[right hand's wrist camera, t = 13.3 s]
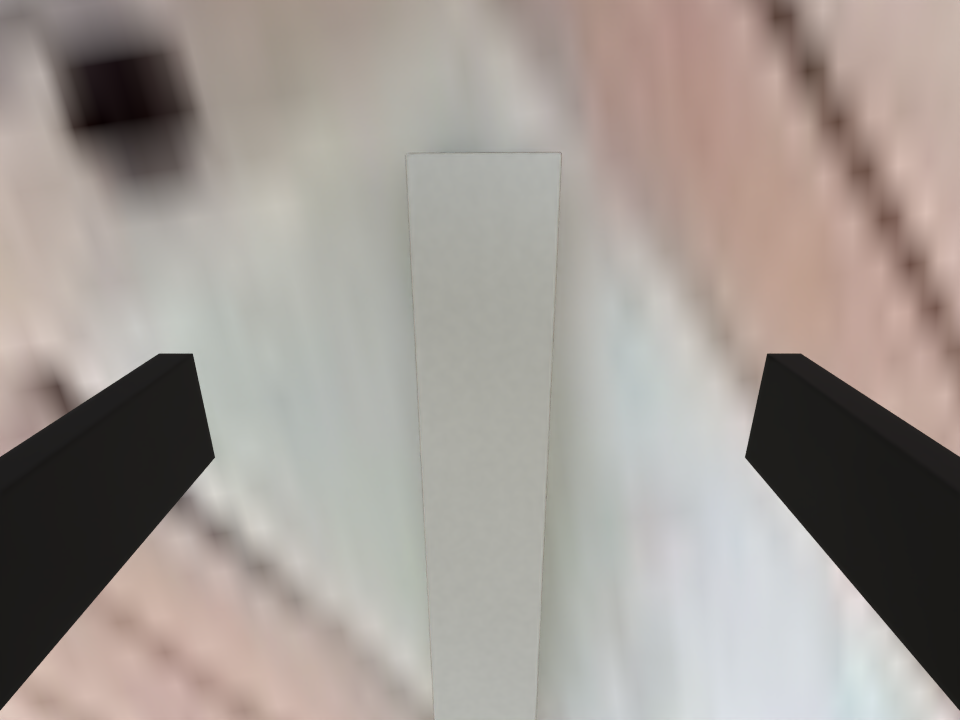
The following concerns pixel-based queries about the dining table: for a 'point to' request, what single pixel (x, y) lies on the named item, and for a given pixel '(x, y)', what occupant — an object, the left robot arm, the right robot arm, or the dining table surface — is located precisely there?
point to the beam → (484, 416)
